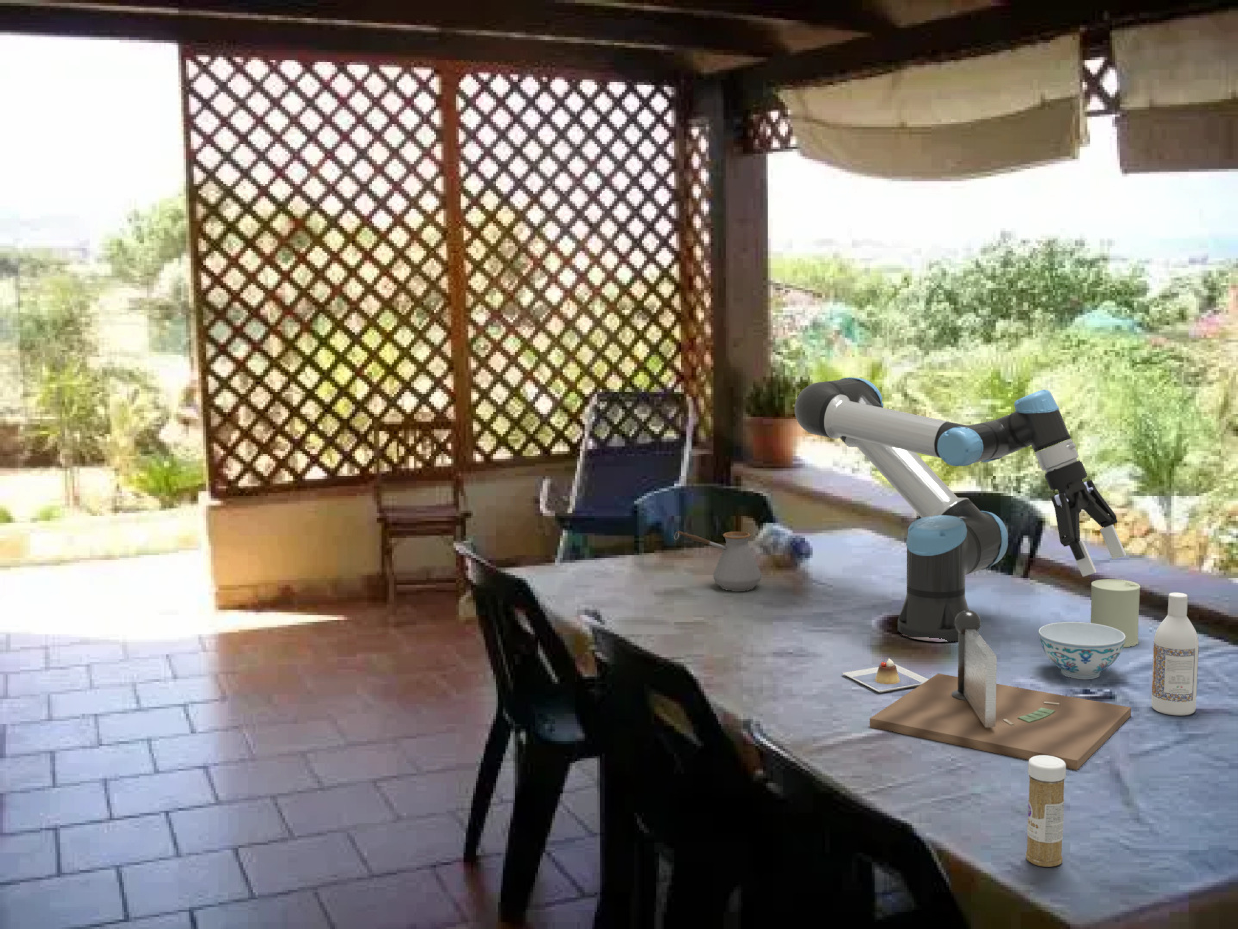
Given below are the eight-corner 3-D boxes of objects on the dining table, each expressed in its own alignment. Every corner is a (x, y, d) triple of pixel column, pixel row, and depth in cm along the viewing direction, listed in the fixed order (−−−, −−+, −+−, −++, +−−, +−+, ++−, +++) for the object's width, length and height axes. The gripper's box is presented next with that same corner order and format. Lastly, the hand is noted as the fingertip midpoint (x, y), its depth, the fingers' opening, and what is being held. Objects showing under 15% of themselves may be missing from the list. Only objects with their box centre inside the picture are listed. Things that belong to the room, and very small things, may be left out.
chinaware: (1068, 690, 233) (1070, 648, 232) (1021, 666, 248) (1022, 626, 247) (1141, 681, 237) (1143, 640, 236) (1091, 658, 252) (1092, 618, 250)
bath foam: (1159, 700, 227) (1163, 587, 224) (1201, 708, 223) (1206, 593, 220) (1145, 711, 222) (1149, 595, 219) (1188, 719, 218) (1193, 602, 215)
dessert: (841, 678, 245) (841, 653, 244) (895, 669, 249) (895, 645, 249) (878, 697, 234) (878, 671, 233) (934, 687, 238) (934, 662, 238)
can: (1142, 648, 257) (1144, 588, 255) (1092, 647, 259) (1094, 587, 257) (1134, 635, 266) (1136, 577, 264) (1086, 633, 267) (1087, 576, 266)
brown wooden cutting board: (869, 727, 218) (869, 716, 218) (938, 681, 240) (938, 671, 240) (1077, 770, 198) (1077, 758, 198) (1130, 716, 220) (1131, 705, 220)
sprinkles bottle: (1019, 854, 171) (1021, 755, 169) (1052, 851, 172) (1054, 752, 169) (1036, 870, 166) (1039, 769, 164) (1070, 866, 167) (1073, 765, 165)
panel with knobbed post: (951, 687, 230) (952, 607, 227) (976, 687, 229) (978, 606, 227) (976, 727, 210) (977, 640, 208) (1004, 727, 210) (1006, 639, 208)
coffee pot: (749, 579, 319) (749, 518, 316) (770, 590, 308) (769, 527, 306) (667, 588, 312) (665, 526, 310) (685, 600, 301) (683, 536, 299)
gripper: (1049, 472, 250) (1094, 576, 248) (1105, 447, 267) (1148, 545, 265) (1015, 484, 255) (1059, 587, 253) (1073, 459, 273) (1114, 555, 270)
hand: (1104, 565), depth 259 cm, fingers open, 13 cm apart
